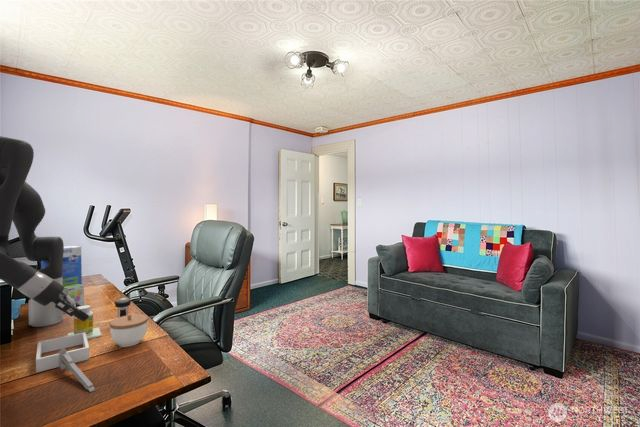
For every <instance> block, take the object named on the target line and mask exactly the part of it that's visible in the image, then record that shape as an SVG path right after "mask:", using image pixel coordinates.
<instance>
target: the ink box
mask: <svg viewBox="0 0 640 427" xmlns="http://www.w3.org/2000/svg"><path fill="white" fill-rule="evenodd" d="M69 280H75V281H74V282H69V283H66V281H69ZM62 283H63V286H64V290H63V293H65V294H66V295H68V296H69V297H71V298H73V299H75V300H76V301H77V303H78V304H79V305H81V306H85V305H86V304H85V303H86V302H85V284H83V283H82V284H78V276H77V277H72V278H67V279H62ZM70 311H73V309H71V310H70Z"/></svg>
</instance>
